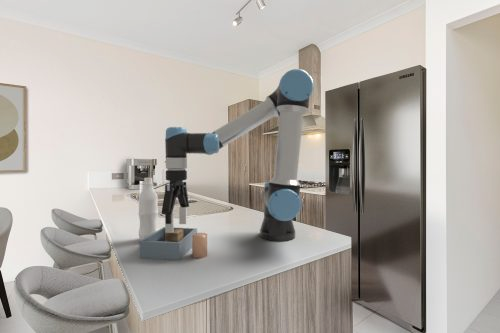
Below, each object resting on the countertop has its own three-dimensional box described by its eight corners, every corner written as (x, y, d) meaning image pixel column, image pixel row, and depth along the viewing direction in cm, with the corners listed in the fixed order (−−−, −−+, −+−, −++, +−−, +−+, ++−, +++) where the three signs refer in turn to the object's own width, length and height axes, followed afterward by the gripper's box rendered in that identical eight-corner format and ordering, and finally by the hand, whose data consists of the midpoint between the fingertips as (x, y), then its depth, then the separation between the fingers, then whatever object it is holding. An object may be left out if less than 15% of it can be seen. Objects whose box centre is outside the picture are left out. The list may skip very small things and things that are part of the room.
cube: (183, 242, 97) (183, 229, 97) (177, 246, 92) (177, 233, 92) (171, 241, 98) (171, 228, 97) (164, 246, 93) (164, 232, 92)
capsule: (208, 253, 87) (209, 233, 87) (204, 258, 82) (204, 237, 82) (195, 252, 88) (195, 232, 88) (190, 257, 83) (190, 236, 83)
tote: (197, 242, 98) (197, 228, 98) (179, 260, 81) (179, 243, 81) (163, 240, 100) (163, 227, 100) (139, 257, 83) (139, 241, 82)
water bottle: (151, 243, 96) (151, 178, 96) (134, 242, 98) (134, 178, 97) (161, 238, 103) (161, 177, 103) (145, 237, 105) (145, 177, 104)
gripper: (179, 168, 106) (179, 220, 106) (150, 170, 82) (150, 237, 82) (196, 168, 105) (197, 220, 105) (172, 170, 81) (172, 238, 81)
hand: (176, 228), depth 94 cm, fingers open, 12 cm apart
